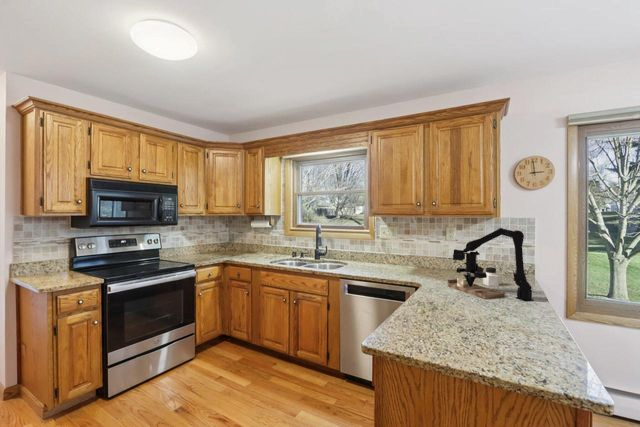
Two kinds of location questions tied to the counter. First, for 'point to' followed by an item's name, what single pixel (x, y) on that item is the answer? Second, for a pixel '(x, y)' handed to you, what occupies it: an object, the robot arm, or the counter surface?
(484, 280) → the medicine bottle
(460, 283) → the maple cube
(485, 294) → the trap deck
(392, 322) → the counter surface
